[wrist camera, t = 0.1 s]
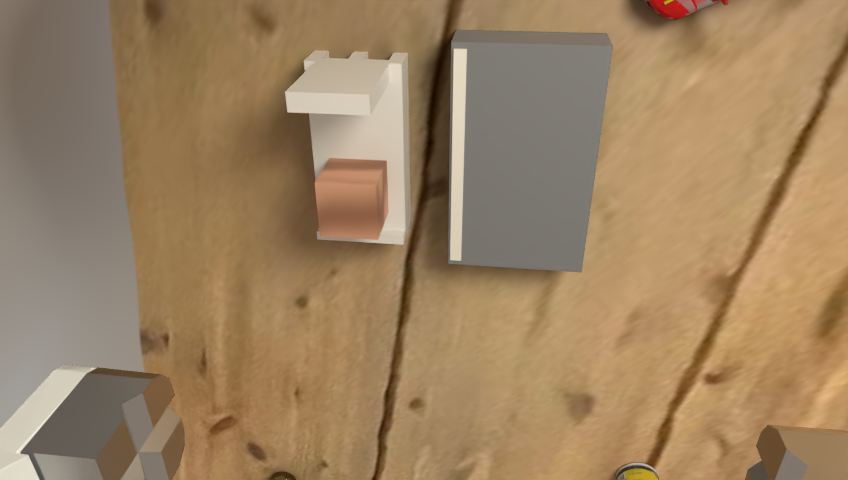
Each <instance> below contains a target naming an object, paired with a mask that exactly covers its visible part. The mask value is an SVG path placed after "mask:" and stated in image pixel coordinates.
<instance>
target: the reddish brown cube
mask: <svg viewBox="0 0 848 480" xmlns="http://www.w3.org/2000/svg"><path fill="white" fill-rule="evenodd" d="M314 183H315V193H316V203H317V213H318V223H319V233H320V236H323V237H339V238H355V239H372V240H378V239H379V236H380V234H381V231H382V228H383V226H384V223H385V220H386V218H387V215H388V212H389V210H388V183H387V161H384V160H362V159H341V158H330V159H329V160H328V162H327V164H326V165H325V167H324V168H323V170H322V171H321V173H320V175H319V176H318V178H317V179H316V181H315V182H314Z"/></svg>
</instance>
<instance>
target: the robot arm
mask: <svg viewBox="0 0 848 480" xmlns="http://www.w3.org/2000/svg"><path fill="white" fill-rule="evenodd" d="M174 396H175V393H174V390H173V387H172V384H171V381H170V378H169V377H166V376H164V375H161V374H153V373H143V372H134V371H125V370H115V369H107V368H91V367H82V366H73V365H64V366H62V367H60V368H58V369H55V370H54V371H53V372H52V373H51V374H50V375H49V376H48V377H47V378H46V380H45V381H44V382H43V383H42V384H41V385H40V386H39V387H38V388H37V389H36V390H35V392H34V393H33V394H32V395H31V396H30V397H29V398H28V399H27V400H26V401H25V403H23V405H22V406H21V407H20V408H19V409H18V410H17V411H16V413H14V414H13V415H12V416H11V418H10V419H9V420H8V421H7V422H6V423H5V424H4V425H3V426H2V427H1V428H0V480H172V479H173V477H174V475H175V473H176V471H177V469H178V468H179V465H180V462H181V458H182V454H183V450H184V446H185V435H184V427H183V423H182V419H181V417H180V416H179V415H178V414H177V413H176V412H175V411H174V410H172V409H171V408H170V407H169V406H168V405H169V404H170V402H171V401H172V399H173V397H174ZM756 447H757V449H758V452H759V454H760V457H761V459H762V461H760V462H759V463H757V464H756V465H754V466H753V467H751V468H749V469H748V471H747V474H746V478H745V480H848V431H846V430H832V429H819V428H806V427H792V426H779V425H767V426H766V427H765V428H764V429H763V431H762V432H761V434H760V437H759V439H758V442H757V445H756Z"/></svg>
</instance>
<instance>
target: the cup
mask: <svg viewBox="0 0 848 480" xmlns="http://www.w3.org/2000/svg"><path fill="white" fill-rule="evenodd" d="M269 480H296V479H295V477H294V476H293V475H291V474H290V473H287V472H277V473H275V474H273V475H272V476H271V477H270V479H269Z"/></svg>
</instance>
